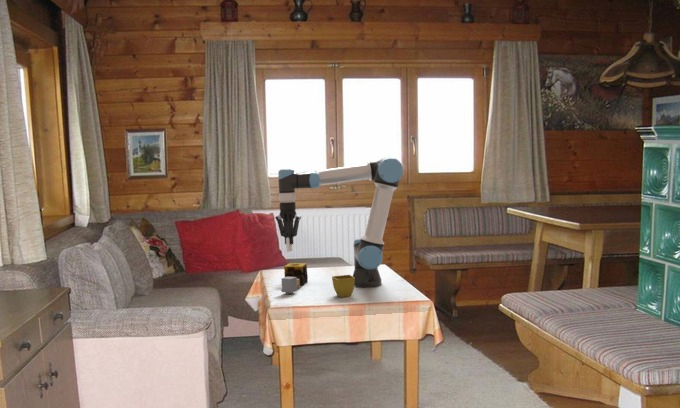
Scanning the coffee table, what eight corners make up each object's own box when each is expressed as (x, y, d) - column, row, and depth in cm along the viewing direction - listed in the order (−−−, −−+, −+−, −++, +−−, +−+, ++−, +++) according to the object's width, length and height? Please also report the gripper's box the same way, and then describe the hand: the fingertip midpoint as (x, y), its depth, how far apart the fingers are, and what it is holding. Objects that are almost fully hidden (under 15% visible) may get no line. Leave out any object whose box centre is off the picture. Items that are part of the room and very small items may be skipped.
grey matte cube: (291, 292, 300) (290, 279, 299) (281, 292, 302) (281, 278, 302) (296, 290, 305) (296, 277, 304) (287, 290, 307) (287, 276, 306)
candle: (303, 286, 321) (302, 266, 320) (284, 285, 323) (283, 266, 322) (308, 282, 331) (307, 263, 330) (289, 281, 333) (288, 262, 332)
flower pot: (337, 298, 289) (336, 279, 289) (332, 295, 298) (331, 276, 297) (355, 297, 292) (355, 277, 291) (350, 293, 300) (349, 274, 300)
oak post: (299, 288, 314) (299, 278, 313) (297, 289, 311) (296, 279, 311) (295, 288, 315) (295, 278, 314) (292, 289, 313) (292, 279, 312)
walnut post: (293, 293, 304) (292, 278, 303) (290, 294, 302) (289, 279, 301) (288, 292, 305) (287, 278, 305) (285, 294, 303) (285, 279, 302)
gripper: (303, 201, 301) (305, 250, 303) (279, 201, 307) (281, 249, 309) (295, 202, 295) (297, 252, 296) (271, 202, 300) (273, 251, 302)
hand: (289, 251), depth 303 cm, fingers closed
